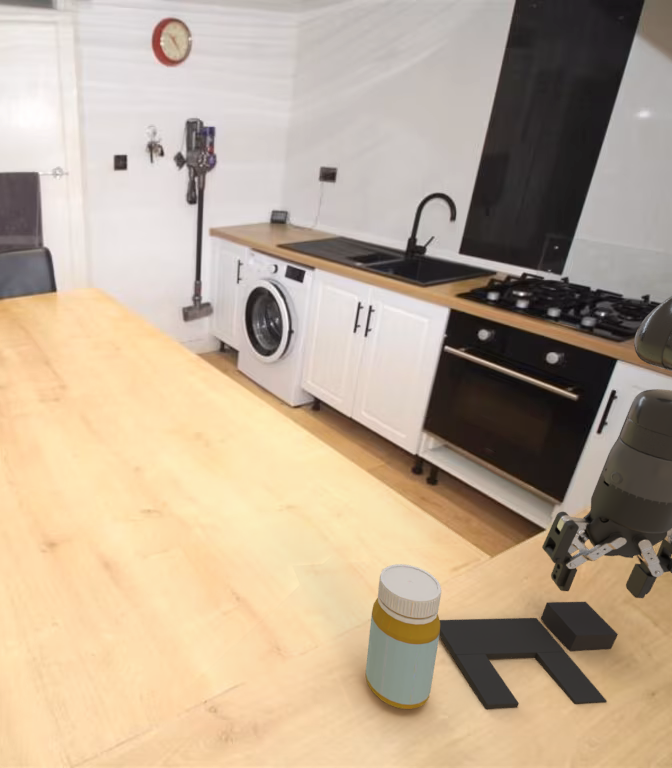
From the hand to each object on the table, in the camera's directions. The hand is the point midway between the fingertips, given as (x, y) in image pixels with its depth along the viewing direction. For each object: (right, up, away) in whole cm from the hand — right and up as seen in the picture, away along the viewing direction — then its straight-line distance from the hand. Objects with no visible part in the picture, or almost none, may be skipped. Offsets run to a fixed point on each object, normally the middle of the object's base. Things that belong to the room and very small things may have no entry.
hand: (596, 589), depth 68 cm
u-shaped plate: (-11, -9, 0) cm, 14 cm away
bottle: (-27, -10, -4) cm, 29 cm away
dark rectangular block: (0, -7, +4) cm, 8 cm away
